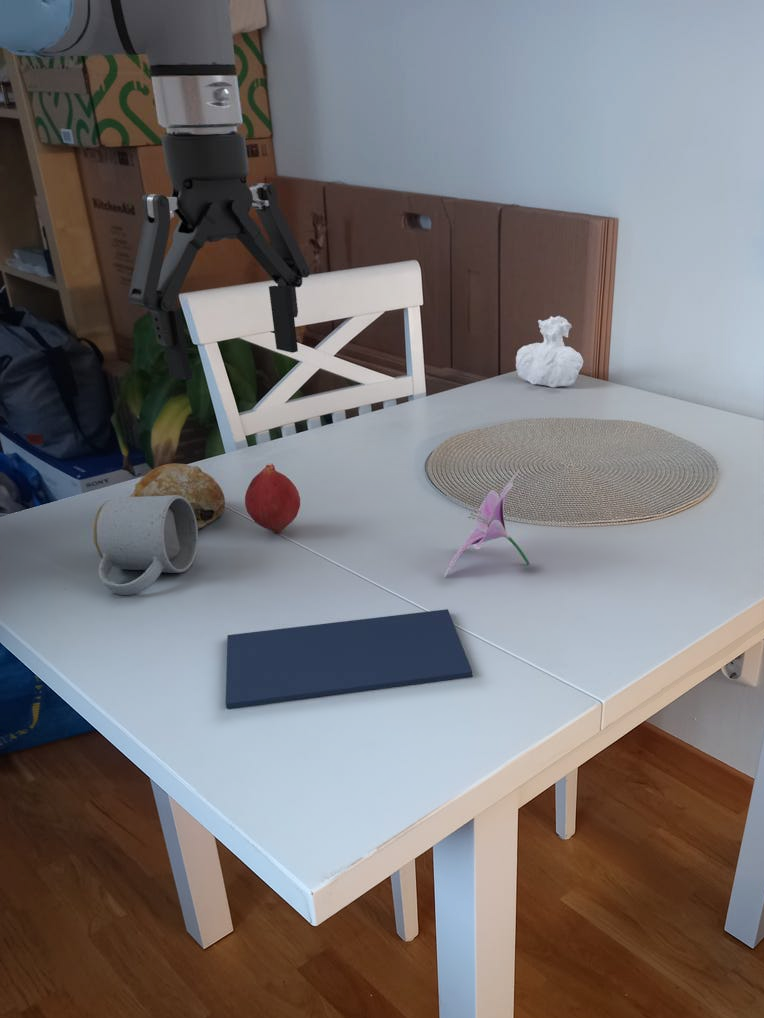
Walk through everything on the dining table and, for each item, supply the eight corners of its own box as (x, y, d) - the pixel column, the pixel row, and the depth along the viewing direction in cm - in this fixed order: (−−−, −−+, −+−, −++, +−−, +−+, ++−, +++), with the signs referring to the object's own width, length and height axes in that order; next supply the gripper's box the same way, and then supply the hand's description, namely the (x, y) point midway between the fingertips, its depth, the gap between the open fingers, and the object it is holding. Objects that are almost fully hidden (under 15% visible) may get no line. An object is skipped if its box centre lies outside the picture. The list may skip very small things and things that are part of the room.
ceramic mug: (131, 548, 99) (115, 481, 95) (204, 552, 98) (191, 484, 94) (82, 596, 90) (62, 524, 86) (161, 601, 89) (145, 528, 85)
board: (226, 709, 73) (225, 703, 73) (228, 639, 82) (227, 634, 82) (472, 676, 77) (472, 671, 77) (448, 613, 86) (447, 608, 86)
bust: (583, 400, 151) (603, 335, 151) (567, 380, 144) (589, 312, 144) (518, 390, 156) (539, 327, 157) (501, 370, 149) (522, 305, 150)
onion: (245, 544, 100) (234, 473, 96) (255, 522, 105) (245, 454, 100) (300, 542, 100) (291, 472, 96) (306, 521, 105) (298, 453, 101)
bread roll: (170, 568, 103) (180, 514, 98) (106, 515, 105) (112, 459, 100) (234, 535, 110) (247, 483, 105) (173, 486, 112) (182, 433, 107)
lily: (502, 537, 103) (457, 468, 98) (586, 523, 94) (542, 447, 90) (448, 610, 96) (398, 539, 92) (534, 602, 88) (483, 523, 83)
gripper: (102, 138, 75) (153, 397, 86) (330, 126, 91) (349, 345, 102) (54, 136, 79) (108, 383, 90) (281, 125, 95) (303, 335, 106)
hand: (236, 363), depth 96 cm, fingers open, 13 cm apart
